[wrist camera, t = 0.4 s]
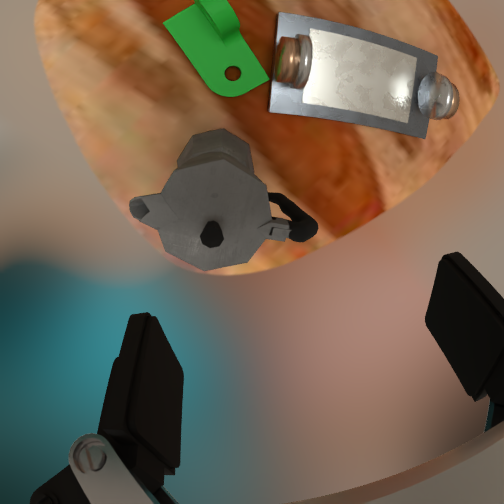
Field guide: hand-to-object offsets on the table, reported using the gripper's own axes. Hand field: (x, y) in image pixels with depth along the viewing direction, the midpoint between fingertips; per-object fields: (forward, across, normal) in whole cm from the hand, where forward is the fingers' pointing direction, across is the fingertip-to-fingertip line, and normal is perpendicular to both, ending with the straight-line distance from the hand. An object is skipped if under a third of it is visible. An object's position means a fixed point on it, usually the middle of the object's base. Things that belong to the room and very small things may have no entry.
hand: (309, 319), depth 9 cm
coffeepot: (+30, +3, +3) cm, 30 cm away
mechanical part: (+30, +1, -11) cm, 32 cm away
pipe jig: (+29, -15, -6) cm, 33 cm away
